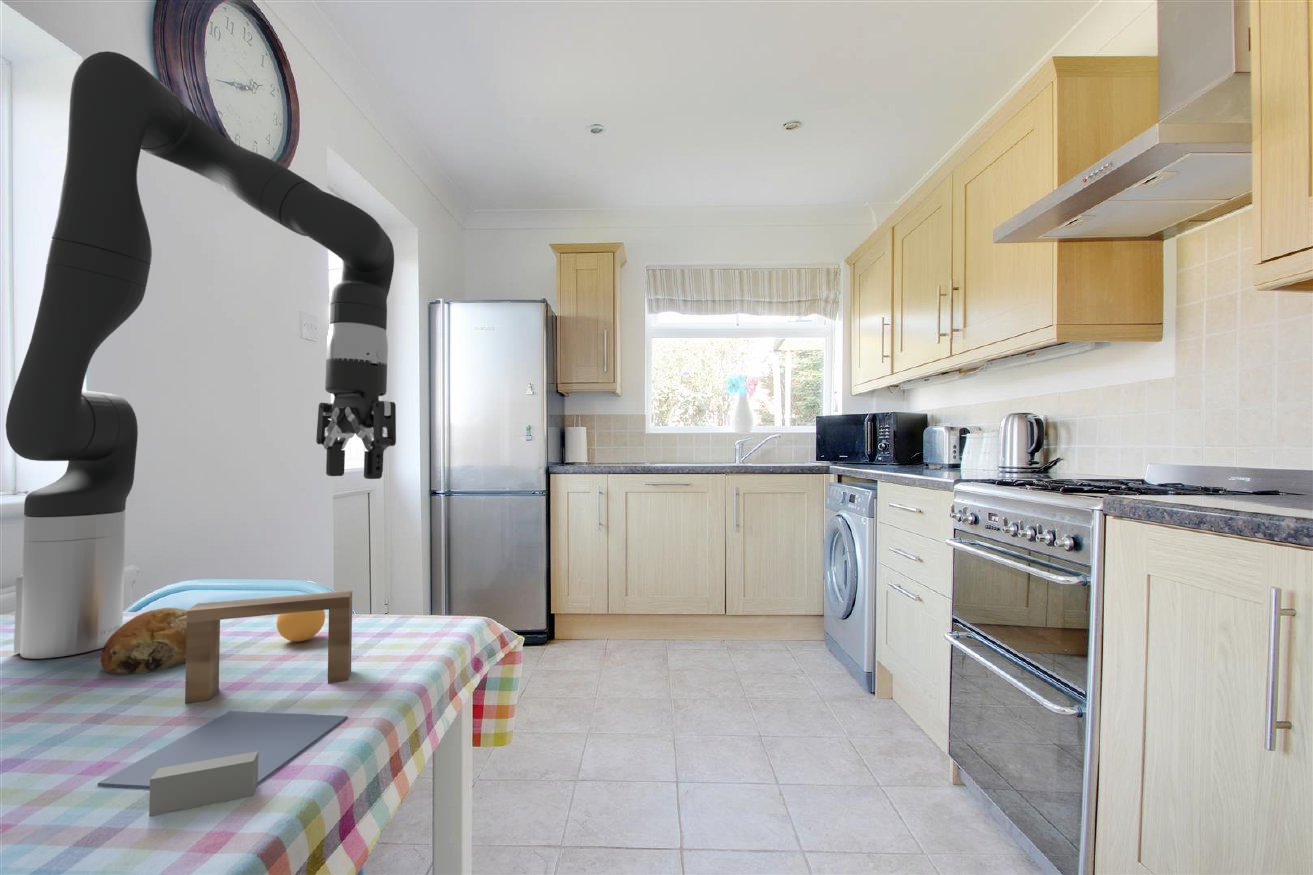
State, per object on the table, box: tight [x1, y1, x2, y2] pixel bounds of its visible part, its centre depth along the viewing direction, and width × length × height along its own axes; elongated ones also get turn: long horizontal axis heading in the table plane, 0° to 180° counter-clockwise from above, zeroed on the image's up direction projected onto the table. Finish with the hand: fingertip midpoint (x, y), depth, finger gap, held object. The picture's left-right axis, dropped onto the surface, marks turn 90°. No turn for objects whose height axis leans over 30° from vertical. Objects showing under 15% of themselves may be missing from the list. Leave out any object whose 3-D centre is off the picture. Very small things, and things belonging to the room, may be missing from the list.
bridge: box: [184, 590, 353, 704], centre depth 61 cm, size 3×14×9 cm, turn 113°
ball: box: [276, 610, 326, 643], centre depth 76 cm, size 6×6×6 cm
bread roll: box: [100, 607, 188, 675], centre depth 69 cm, size 10×10×8 cm
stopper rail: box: [148, 751, 259, 817], centre depth 41 cm, size 2×6×2 cm, turn 113°
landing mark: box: [97, 710, 348, 790], centre depth 48 cm, size 12×12×1 cm
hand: (353, 477), depth 78 cm, fingers open, 8 cm apart
